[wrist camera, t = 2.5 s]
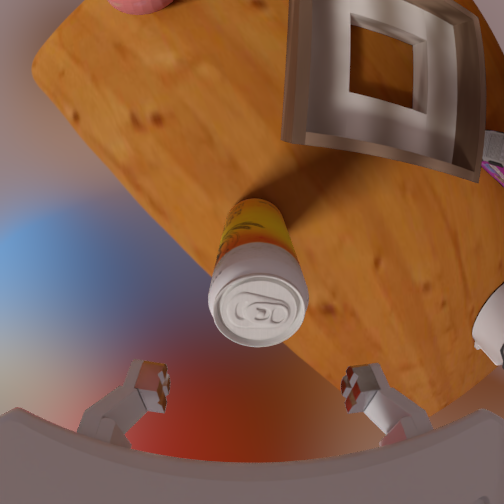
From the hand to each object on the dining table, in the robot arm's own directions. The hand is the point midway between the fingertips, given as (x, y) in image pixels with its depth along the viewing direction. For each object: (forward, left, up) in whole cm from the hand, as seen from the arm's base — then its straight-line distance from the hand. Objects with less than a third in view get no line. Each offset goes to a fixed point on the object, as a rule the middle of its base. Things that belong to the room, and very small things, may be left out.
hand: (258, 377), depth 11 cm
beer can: (0, 0, -20) cm, 20 cm away
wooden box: (-12, -19, -20) cm, 30 cm away
